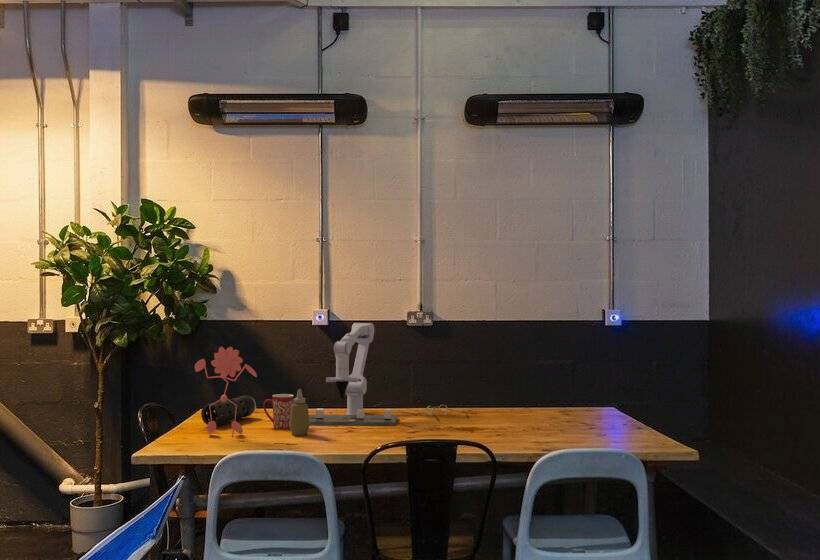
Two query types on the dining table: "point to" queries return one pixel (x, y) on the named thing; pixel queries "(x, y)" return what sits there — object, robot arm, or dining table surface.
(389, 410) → the block
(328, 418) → the breaker panel
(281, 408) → the mug
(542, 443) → the dining table surface
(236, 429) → the figurine
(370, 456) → the dining table surface
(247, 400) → the muzzle brake
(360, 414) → the block
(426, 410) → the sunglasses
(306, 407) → the squeeze bottle
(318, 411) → the beige block
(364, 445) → the dining table surface
